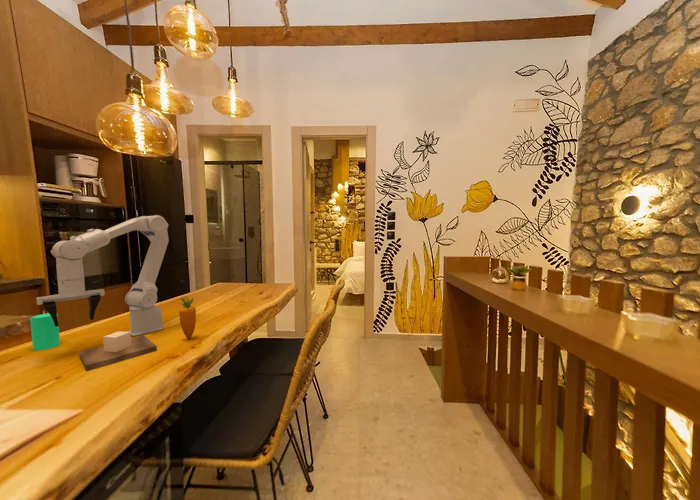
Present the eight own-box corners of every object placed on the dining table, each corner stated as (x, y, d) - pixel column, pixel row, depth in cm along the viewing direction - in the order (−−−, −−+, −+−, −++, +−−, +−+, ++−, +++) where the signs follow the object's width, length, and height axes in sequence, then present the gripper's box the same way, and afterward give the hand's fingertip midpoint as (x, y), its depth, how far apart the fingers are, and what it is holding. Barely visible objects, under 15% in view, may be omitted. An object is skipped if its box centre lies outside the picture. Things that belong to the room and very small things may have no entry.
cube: (119, 345, 86) (118, 331, 86) (131, 345, 85) (130, 332, 85) (104, 351, 81) (103, 336, 81) (116, 352, 81) (115, 337, 80)
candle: (41, 351, 86) (38, 314, 85) (27, 349, 87) (24, 313, 86) (65, 343, 92) (62, 308, 91) (51, 342, 93) (48, 307, 92)
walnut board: (144, 339, 94) (144, 335, 94) (156, 350, 85) (156, 345, 85) (79, 356, 82) (79, 351, 82) (86, 371, 73) (85, 365, 73)
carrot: (200, 337, 95) (198, 295, 94) (188, 342, 91) (185, 298, 90) (190, 335, 97) (187, 294, 96) (177, 340, 92) (174, 297, 91)
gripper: (100, 275, 91) (103, 314, 92) (34, 281, 80) (38, 326, 81) (104, 277, 87) (107, 318, 88) (35, 284, 76) (40, 331, 77)
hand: (74, 322), depth 84 cm, fingers open, 7 cm apart
